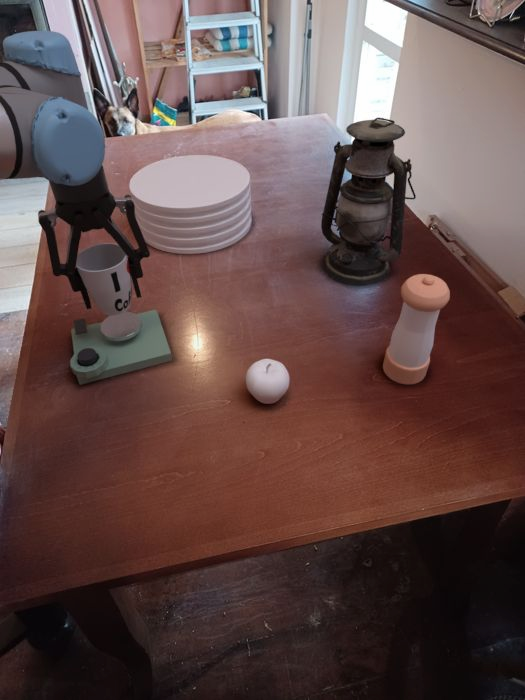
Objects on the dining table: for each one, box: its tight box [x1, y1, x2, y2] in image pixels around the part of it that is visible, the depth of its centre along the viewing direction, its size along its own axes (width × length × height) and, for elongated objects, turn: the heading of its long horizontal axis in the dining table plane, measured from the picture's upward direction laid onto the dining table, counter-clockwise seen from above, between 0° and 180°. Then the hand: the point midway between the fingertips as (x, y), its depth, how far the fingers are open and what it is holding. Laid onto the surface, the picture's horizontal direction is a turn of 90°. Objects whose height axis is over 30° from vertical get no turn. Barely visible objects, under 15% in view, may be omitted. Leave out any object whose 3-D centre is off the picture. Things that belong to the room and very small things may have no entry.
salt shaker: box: [382, 273, 451, 385], centre depth 75 cm, size 7×7×19 cm
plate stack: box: [128, 154, 253, 255], centre depth 115 cm, size 28×28×12 cm
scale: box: [69, 309, 173, 386], centre depth 85 cm, size 16×14×4 cm
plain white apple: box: [245, 358, 291, 405], centre depth 76 cm, size 7×7×8 cm
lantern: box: [320, 117, 417, 287], centre depth 96 cm, size 19×19×30 cm
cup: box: [76, 242, 133, 316], centre depth 79 cm, size 8×8×10 cm
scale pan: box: [73, 311, 142, 341], centre depth 86 cm, size 12×9×1 cm
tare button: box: [77, 348, 98, 367], centre depth 80 cm, size 3×3×2 cm
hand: (113, 298), depth 81 cm, fingers closed on cup, 8 cm apart
